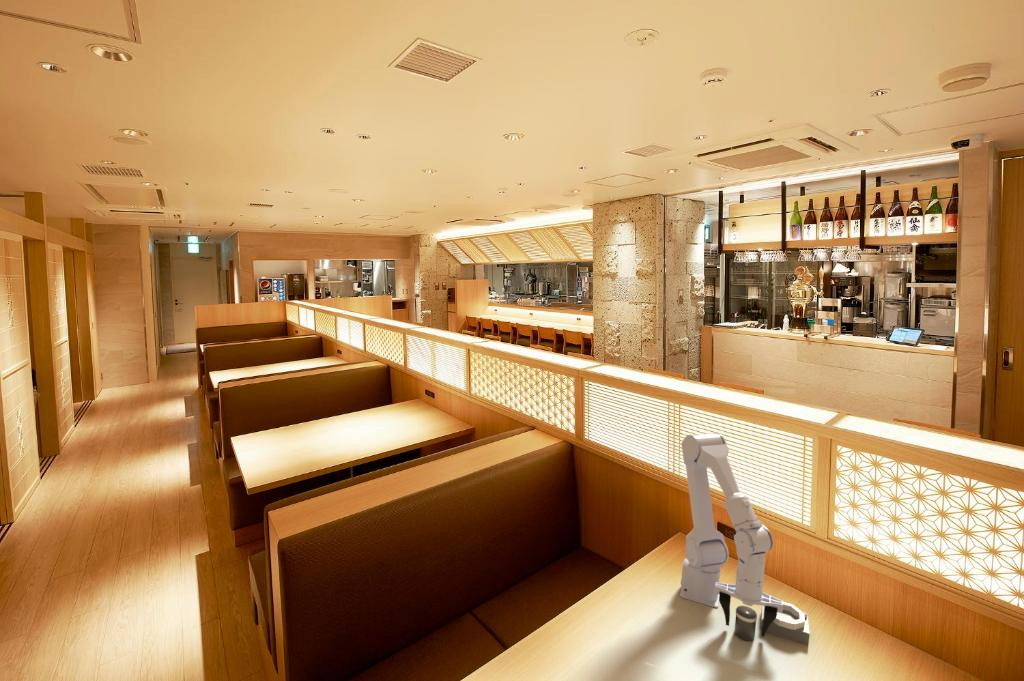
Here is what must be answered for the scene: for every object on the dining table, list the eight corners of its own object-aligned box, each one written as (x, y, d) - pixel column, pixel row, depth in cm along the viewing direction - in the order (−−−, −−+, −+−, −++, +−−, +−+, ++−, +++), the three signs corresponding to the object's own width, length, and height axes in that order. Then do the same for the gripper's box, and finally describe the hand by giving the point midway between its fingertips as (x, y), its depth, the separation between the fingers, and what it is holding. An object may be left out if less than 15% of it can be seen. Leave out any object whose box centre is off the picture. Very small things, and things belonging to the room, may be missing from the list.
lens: (733, 637, 118) (735, 614, 117) (734, 625, 122) (736, 603, 121) (754, 644, 116) (757, 621, 115) (755, 632, 120) (757, 609, 119)
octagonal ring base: (760, 631, 120) (762, 614, 119) (761, 612, 127) (762, 596, 126) (808, 646, 115) (810, 629, 115) (806, 625, 122) (808, 608, 122)
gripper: (715, 575, 116) (711, 628, 118) (785, 595, 110) (779, 650, 112) (718, 560, 123) (713, 610, 124) (784, 578, 116) (779, 630, 118)
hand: (745, 628), depth 118 cm, fingers open, 7 cm apart
